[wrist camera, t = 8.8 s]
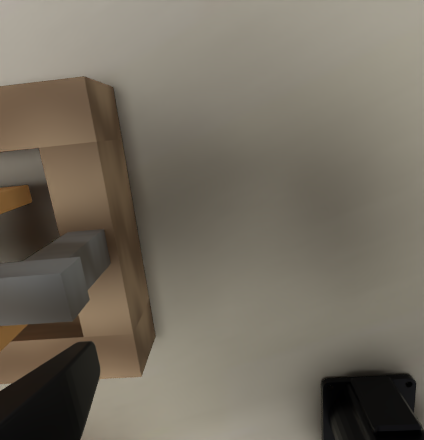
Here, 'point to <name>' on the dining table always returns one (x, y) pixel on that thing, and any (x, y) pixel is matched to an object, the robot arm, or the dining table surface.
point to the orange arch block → (3, 202)
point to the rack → (76, 234)
